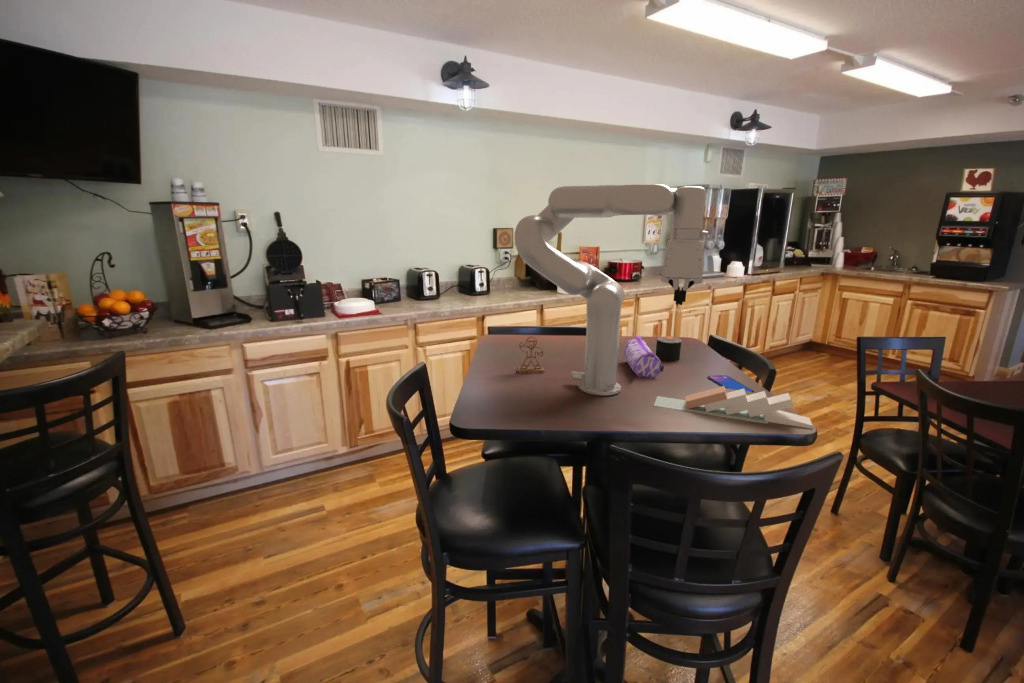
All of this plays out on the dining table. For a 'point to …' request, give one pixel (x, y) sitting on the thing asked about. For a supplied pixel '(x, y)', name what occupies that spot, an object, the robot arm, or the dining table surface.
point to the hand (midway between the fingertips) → (679, 304)
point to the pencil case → (642, 358)
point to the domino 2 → (728, 400)
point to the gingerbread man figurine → (535, 368)
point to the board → (721, 412)
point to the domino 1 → (706, 397)
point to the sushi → (668, 348)
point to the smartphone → (728, 382)
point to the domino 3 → (749, 403)
